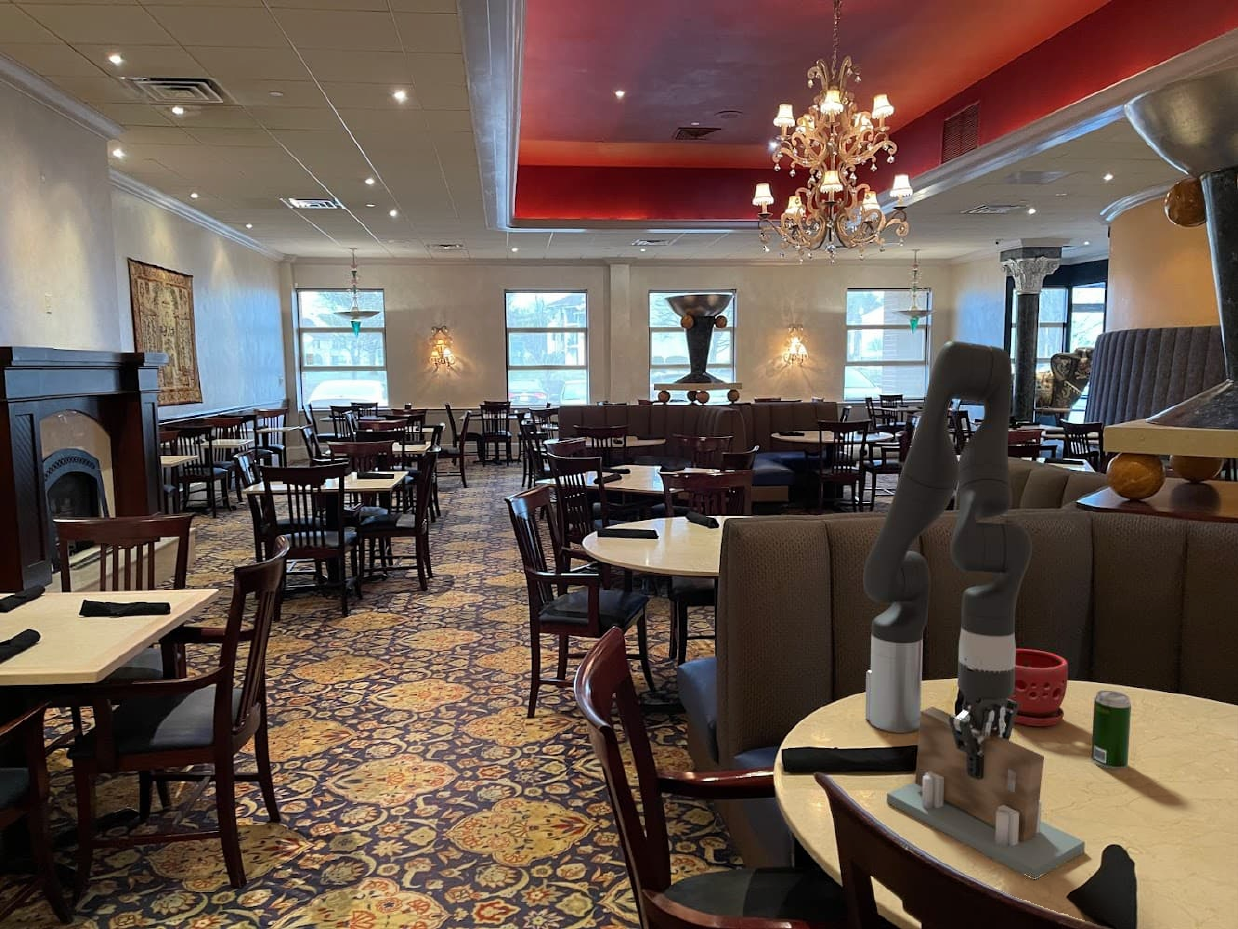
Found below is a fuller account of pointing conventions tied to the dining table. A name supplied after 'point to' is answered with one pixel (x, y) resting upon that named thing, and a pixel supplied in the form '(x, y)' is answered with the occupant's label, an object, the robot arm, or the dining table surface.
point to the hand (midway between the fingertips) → (982, 773)
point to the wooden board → (1004, 779)
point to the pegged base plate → (988, 829)
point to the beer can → (1111, 730)
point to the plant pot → (1039, 687)
